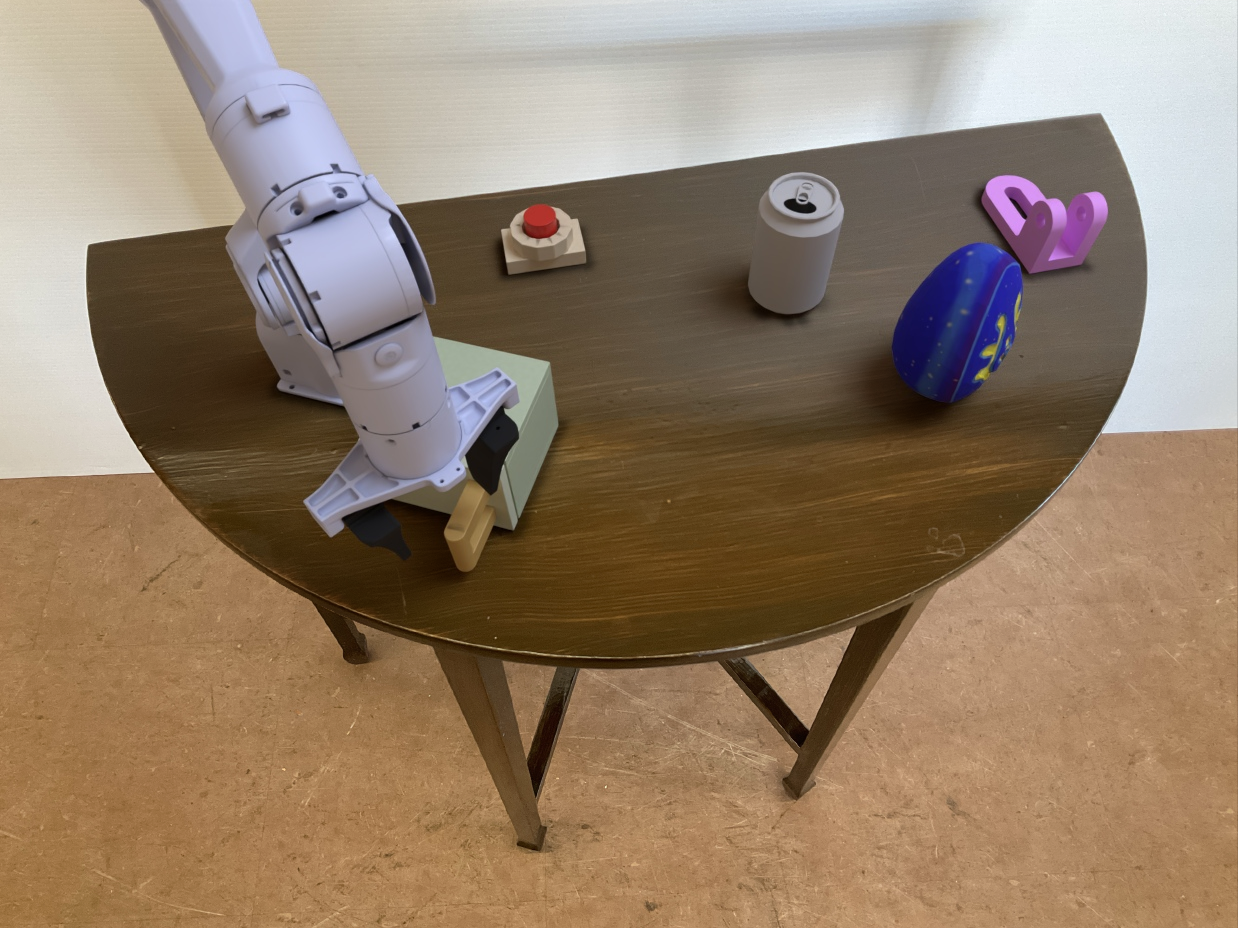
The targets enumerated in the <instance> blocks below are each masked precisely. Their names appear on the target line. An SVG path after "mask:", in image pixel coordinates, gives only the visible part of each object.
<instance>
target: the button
mask: <svg viewBox="0 0 1238 928" xmlns="http://www.w3.org/2000/svg"><path fill="white" fill-rule="evenodd" d="M552 207H553V206H551V205H547V204H533V205H531V206H530V207H527V208H528V209H527V208H526V209H527V210H526V211H525V212H524V215H523V218H524V225H525V231H526V233H527V235H528V236H530V237H531V238H535V239H544V238H549V237H551V236H553V235H554V234H555V233H556V231H557V221H556V213H555V210H554V209H553V208H552Z"/></svg>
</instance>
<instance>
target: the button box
mask: <svg viewBox="0 0 1238 928" xmlns="http://www.w3.org/2000/svg"><path fill="white" fill-rule="evenodd" d="M551 207H552V208H553V209H554V210H555V213H556V221H557V231H556V233H555V234H554V235H553V236H551V237H549V238H544V239H535V238H531V237H530V236H528V235H527V233H526V231H525V225H524V218H523V215H524V212H525V211H526V210H527V209H528V208H529V207H527V208H526V209H524V210H522V211H520V212H518V213H516V214H515V216H514V217H513V219H512V221H511V222H510V224H509V228H502V229H500V232H501V233H500V234H501V239H502V245H503V252H504V256H505V263H506V269H507V274H508V276H509V275H515V274H516V275H517V274H523V273H529V272H536V271H543V270H549V269H556V268H563V267H564V268H565V267H570V266H576V265H584V264H587V254H586V253H587V252H586V247H585V244H584V238H583V235H582V230H581V227H580V223H579V222H580V221H579V219H578V218H572V219H571V216H570V215H569V214H567V213H566V212H565V211H563V210H562V209H561V208H559V207H554V206H551Z"/></svg>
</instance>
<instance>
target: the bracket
mask: <svg viewBox="0 0 1238 928" xmlns="http://www.w3.org/2000/svg"><path fill="white" fill-rule="evenodd" d="M1010 199H1012V200H1014V201H1016V203H1017V204H1018V205H1019V207H1020V209H1021V210H1022V211H1023V212H1024V214H1025V215H1026V218H1023V217H1022V215H1021V214H1020V212H1019V211H1018V210H1017V208H1016V206H1015V205H1014V204H1013V203H1012V201H1011V200H1010ZM981 204H982V206H983V208H984V209H985V211H986V212H987V213H988V215H989V217H990V218H991V219H992V221H993V222H994V224H995V225H996V227H997V229H998V230H999V231H1000V233H1001V234H1002V236H1003V237H1004V239H1005V240H1006V241H1007V243H1008V245H1009V246H1010V248H1011V249H1012V250H1013V252H1014V253H1015V255H1016V256H1017V257H1018V259H1019V261H1020V262H1021V263H1022V265H1023V266H1024V268H1025V269H1026V271H1027V272H1028V274H1029V275H1031V274H1035V273H1041V272H1048V271H1053V270H1058V269H1065V268H1071V267H1076V266H1081V265H1083V263H1084V261H1085V260H1086V258H1087V256H1088V254H1089V252H1090V250H1091V249H1092V247H1093V245H1094V244H1095V242H1096V240H1097V238H1098V236H1099V235H1100V233H1101V231H1102V229H1103V228H1104V226H1105V224H1106V222H1107V219H1108V216H1109V215H1108V214H1109V211H1108V209H1109V208H1108V202H1107V200H1106V198H1105V196H1104V195H1103V194H1102V193H1100V192H1099V191H1090V192H1089V191H1088V192H1083V193H1079V194H1076V195H1075V196H1074V197H1073V198H1072V200H1071V201H1070V203H1069V205H1068V207H1067V209H1066V207H1065V205H1064V203H1063V201H1061V200H1060V199H1059V198H1054V197H1053V198H1048V199H1047V198H1046V196H1045V195H1044V194H1043V193H1042V191H1041V190H1040V189H1039V187H1038V186H1037V185H1036V184H1034V183H1033V182H1032V181H1031V180H1029V179H1026V178H1025V177H1021V176H1017V175H1011V174H1007V175H1006V174H1005V175H998V176H995V177H993V178H992V179H990V180H989V181H988V182H987V183H986V185H985V188H984V191H983V193H982V196H981Z"/></svg>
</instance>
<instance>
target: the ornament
mask: <svg viewBox="0 0 1238 928" xmlns="http://www.w3.org/2000/svg"><path fill="white" fill-rule="evenodd" d="M1023 293H1024V283H1023V275H1022V270H1021V265H1020V263H1019V262H1018V261H1017V260H1016V259H1015V258H1014V257H1013V256H1012V255H1011V254H1010V253H1008V252H1007V251H1005V250H1003V249H1002V248H1001V247H999V246H997V245H995V244H993V243H988V242H987V243H986V242H973V243H969V244H966V245H964V246H961V247H959V248H958V249H956V250H955V251H952V252H951V253H950V254H949V255H948V256H946V257H945V258H944V259H943V260H942V261H941V262H940V263H939V264H937V266H935V267H934V268H933V269H932V271H931V272H929V274H928V275H927V276H926V277H925V278H924V279H923V281H922V282H921V283H920V285H918V286H917V288H916V290H914V292H913V294H912V295H911V296H910V298H909V299H908V300H907V302H906V304H905V306H904V307H903V309H902V311H901V313H900V315H899V317H898V319H897V323H896V324H895V327H894V330H893V335H892V342H891V354H892V361H893V366H894V368H895V370H896V372H897V373H898V375H899V378H901V381H903V382H904V383H905V384H906V385H907V386H908V387H909V388H910V389H911V390H913V391H914V392H916V393H917V394H919V395H921V396H923V397H924V398H928V399H931V400H933V401H935V402H941V403H945V404H952V403H956V402H958V401H961V400H963V399H965V398H967V397H969V396H970V395H972V394H973V393H975V392H976V391H977V390H979V388H980V387H981V386H982V385H983V384H984V383H985V382H986V381H987V380H988V378H989V377H990V374H991V373H995V372H996V371H997V370H998V369H999V366H1000V365H1001V363H1002V362H1004V360H1005V359H1006V357H1007V355H1008V353H1009V352H1010V349H1011V348H1012V346H1013V343H1014V342H1015V339H1016V332H1017V330H1018V327H1017V326H1018V325H1017V324H1018V322H1019V319H1020V315H1021V313H1022V303H1023Z"/></svg>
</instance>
